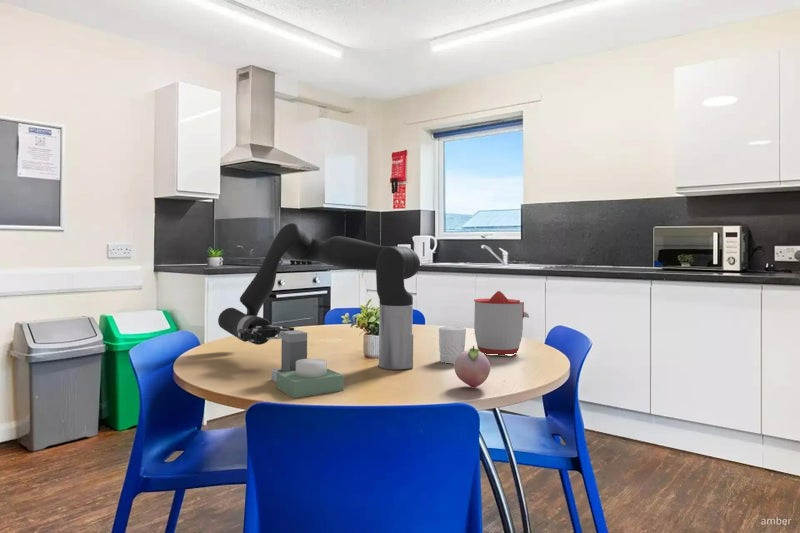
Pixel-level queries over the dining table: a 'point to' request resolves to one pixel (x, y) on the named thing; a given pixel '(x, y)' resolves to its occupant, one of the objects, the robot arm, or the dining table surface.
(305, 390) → the shallow green tray
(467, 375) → the decorative fruit
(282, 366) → the tall grey square pillar
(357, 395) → the dining table surface
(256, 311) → the robot arm
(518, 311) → the citrus juicer
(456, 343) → the white cup
